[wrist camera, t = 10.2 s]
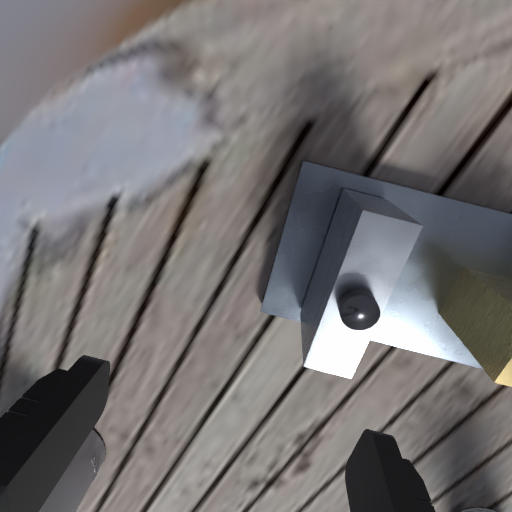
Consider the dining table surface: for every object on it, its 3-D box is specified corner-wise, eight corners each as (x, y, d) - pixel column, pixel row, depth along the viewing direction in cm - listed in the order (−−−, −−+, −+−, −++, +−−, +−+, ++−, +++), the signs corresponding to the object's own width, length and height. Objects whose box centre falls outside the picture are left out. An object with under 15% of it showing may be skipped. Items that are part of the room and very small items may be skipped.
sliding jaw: (300, 312, 24) (304, 378, 18) (343, 188, 21) (367, 215, 14) (337, 322, 24) (354, 391, 18) (387, 199, 21) (431, 231, 14)
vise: (261, 304, 26) (252, 363, 20) (302, 159, 22) (308, 173, 15) (515, 369, 26) (592, 450, 20) (611, 238, 22) (754, 287, 15)
